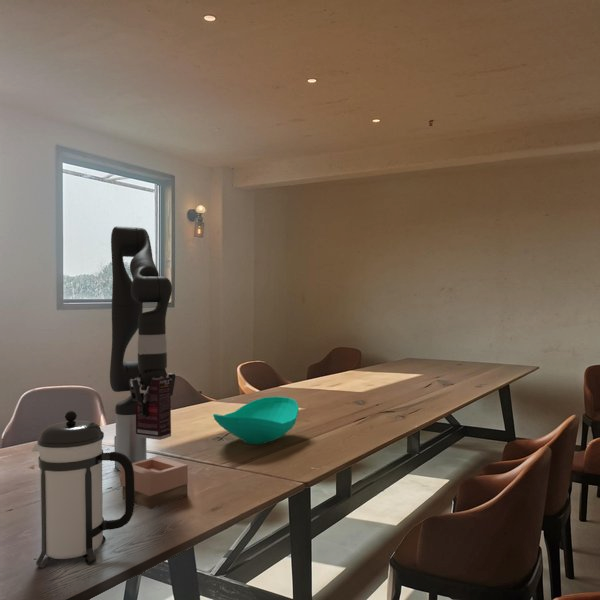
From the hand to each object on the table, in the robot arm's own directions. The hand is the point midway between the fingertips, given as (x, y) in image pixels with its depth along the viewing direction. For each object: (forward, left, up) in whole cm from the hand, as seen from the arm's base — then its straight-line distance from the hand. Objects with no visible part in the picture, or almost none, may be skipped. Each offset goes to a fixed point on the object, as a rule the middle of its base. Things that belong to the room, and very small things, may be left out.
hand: (153, 414), depth 150 cm
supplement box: (0, 0, -6) cm, 6 cm away
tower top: (0, 0, -19) cm, 19 cm away
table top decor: (-16, +59, -22) cm, 65 cm away
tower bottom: (0, 0, -23) cm, 23 cm away
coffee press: (+14, -30, -22) cm, 40 cm away
